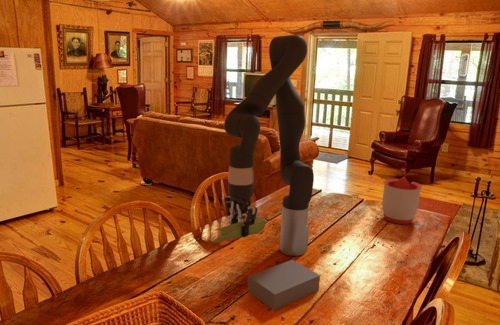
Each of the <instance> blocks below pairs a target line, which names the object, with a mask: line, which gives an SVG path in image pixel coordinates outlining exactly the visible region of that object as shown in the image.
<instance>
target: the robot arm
mask: <svg viewBox="0 0 500 325" xmlns="http://www.w3.org/2000/svg"><path fill="white" fill-rule="evenodd" d="M306 41H307V40H306V39H305V38H304V37H303V36H302V35H300V34H291V35H290V34H289V35H278V36H274V37H273V38H272V39H271V41H270V43H269V48H268V55H269V62H270V63H269V64H270V67H271V70H268V72H266V73H265V74H264V75H262V76H261V77H260V78H259V79H258V80H257V81H256V82H255V83H254V84H253V86H251V88H250V90H249V91H248V92H247V93H248V94H246V96H245V98H244V99H243V100H241V101H240V102H239V103H238V104H236V106H235V107H233V108H232V110H230V111H229V113H228V114H227V115H226V117H225V119H224V123H223V127H224V132H225V133H226V134H227V135H229V136H231V137H234V138H241V142H240V143H239V144H235V145H232V146H231V147H229V148H230V149H229V160H228V161H229V162H228V164H229V166H228V171H227V173H228V174H227V176H228V177H227V178H228V179H227V195H228V196H225V197H224V206H225V213H226V216H227V217H229V219H230V225H232V224H235V223H239V219H240V222H241V223H242V226H241V236H242V237H241V238H247V237H248V236H250V235H249V226H250V225H253V224H254V222H255V218H257V213H258V208H257V207H253V206H252V202H251V199H252V197H253V195H254V179H255V178H254V177H255V175H254V173H255V172H254V152H255V148H256V146H257V142H258V138H259V136H260V133H261V122H260V119H259V118H258V116H261V115H264V113H265V112H266V110H267V109H268V108H269V105H270V104H271V102H272V101H273V99H274V97H275V101H276V102H275V103H276V114H277V115H276V116H277V126H278V127H277V128H278V136H279V138H278V139H279V149H280V157H279V159H280V160H279V162H280V164H279V167H280V168H279V173H280V178H281V180H282V182H283V183H284V184H286V185H287V186H289V190H288V192H289V193H288V195H284V196H283V198H282V205H281V206H282V207H281V209H282V210H281V224H280V226H281V227H280V239H279V240H280V242H279V243H280V245H279V251H280V252H281V253H282V254H284V255H286V256H291V257H297V256H298V257H299V256H302V255H304V254H305V253H306V251H308V244H309V243H308V242H309V233H310V232H309V229H310V226H309V225H308V218H309V205H310V202H311V200H312V198H313V196H312V195H313V190H314V179H315V178H314V176H315V175H314V174H315V173H314V171H313V168H312V167H311V166H310V165H308V164H306V163H303V162H302V161H301V155H300V142H301V139H302V137H303V134H304V130H305V127H306V115H305V114H306V113H305V104H304V101H303V99H302V97H301V95H300V93H299V92H298V91H297V89H296V87H295V86H294V84H293V83H292V80H291V78H290V77H291V76H292V74H294V73H295V71H297V69H298V68H299V67H300V66H301V64H302V63H303V62H304V61H305V59H306V57H307V54H308V44H307V42H306ZM245 220H246V222H245ZM250 220H251V221H250Z"/></svg>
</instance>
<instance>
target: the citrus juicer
mask: <svg viewBox="0 0 500 325" xmlns="http://www.w3.org/2000/svg"><path fill="white" fill-rule="evenodd" d="M383 185H384V186H383V194H382V203H381V204H382V211H383V212H382V214H383V216H384V219H385V220H386V221H388V222H391V223H394V224H397V225H398V224H399V225H408V224H411V223H412V222H413V221H414V219H415V216H416V215H417V213H418V209H419V205H420V197H421V189H422V188H423V186H422V184H420V183H419V182H416V181H412V182H409V181H408V180H407V178H406V177H405V176H403V177H401V178H389V179H385V180H384V181H383Z"/></svg>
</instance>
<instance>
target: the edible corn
mask: <svg viewBox="0 0 500 325" xmlns="http://www.w3.org/2000/svg"><path fill="white" fill-rule="evenodd" d="M244 220H245V222H246V219H244ZM250 221H251V220H250ZM266 222H267V221H266V220H264V219H263V218H261V217H259V216H258V217H256V218H255V222H254V224H253V225H250V226H249V235H248V236H253V235H257V234H259V233H261V232H263V230H265V228H266V224H267V223H266ZM241 226H242V223H241V221H240V222H239V221H238V223H235V224H232V225H231V224H229V225H226V226H222V227H219V228H215V229H213V230H212V231H217V232H218V236H217V237H216V238H215V239H213V240H211V242H212V243H214V244H215V243H218V242H219V243H220V242H223V241H229V240H234V239H237V238H243V237H242V236H241Z"/></svg>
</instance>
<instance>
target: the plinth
mask: <svg viewBox="0 0 500 325" xmlns="http://www.w3.org/2000/svg"><path fill="white" fill-rule="evenodd" d="M320 278H321V275H320V274H319V273H316V271H315V272H314V271H313V270H311V269H310V268H308V267H307V266H304V265H303V264H301V263H299V262H297V261H296V260H293V259H290V260H287V261H285V262H282V263H279V264H276V265H274V266H271V267H269V268H265V269H263V270H261V271H258V272H255V273H252V274H250V275H248V276H247V292H248V293H249V294H251V295H252V296H253V297H255V298H256V299H258V300H259V301H260V302H261V303H263V304H264V305H266V306H267V307H268V308H270V310H272V311H276V310H279V309H282V308H283V307H286V306H288V305H290V304H291V303H294V302H296V301H299V300H301V299H303V298H304V297H307V296H310V295H313V293H316V292H319V290H320Z"/></svg>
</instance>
